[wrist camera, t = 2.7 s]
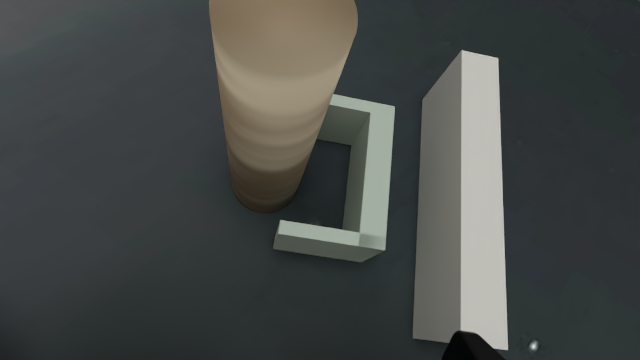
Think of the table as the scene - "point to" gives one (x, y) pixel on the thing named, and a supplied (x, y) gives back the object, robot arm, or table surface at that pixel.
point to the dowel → (276, 87)
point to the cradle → (352, 185)
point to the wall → (461, 207)
